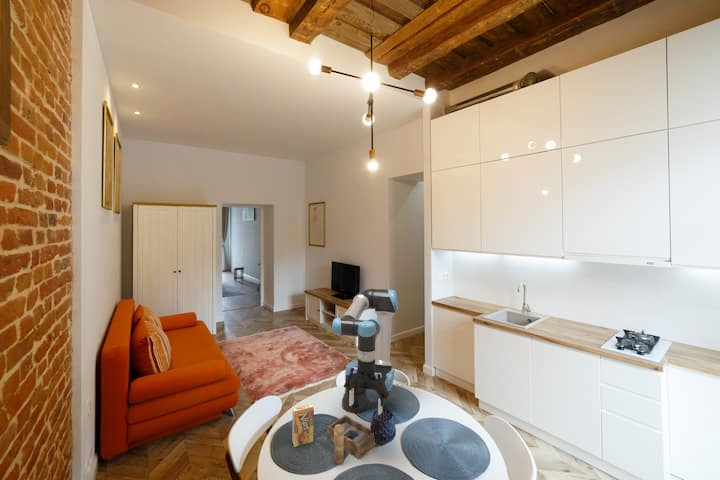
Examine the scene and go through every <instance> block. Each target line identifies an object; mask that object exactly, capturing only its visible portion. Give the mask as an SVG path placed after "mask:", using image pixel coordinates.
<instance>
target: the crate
mask: <svg viewBox="0 0 720 480" xmlns="http://www.w3.org/2000/svg"><path fill="white" fill-rule="evenodd" d="M338 424H341V425H343V426H344V452H346V453H348V454H349V455H351V456H353V457H354V458H356V459H357V460H359V459H361V458H362V457H363V456H364V455H365V454H366V453H368V452H369V451H370V450H372V448H373V447H374V446H376V445H377V442H376V443H375V439H374V433H372V432H371V430H372V429H371V428H369V427H367V426H366V425H364V424H362V423H360V422H359V421H356V420H355V419H354V418H351V417H350V416H348V415H343V416H342V417H340V418H339V419H336V420H335V421H334V422H333V423H331V424H330V425H327V428H326V429H327V431H326V432H327V434H326V435H327V437H326V438H327V440H328V441H330V442H331V443H333V444H334V427H335V426H336V425H338ZM350 437H352V438H353V439H351V438H350Z"/></svg>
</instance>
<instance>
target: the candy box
mask: <svg viewBox="0 0 720 480" xmlns="http://www.w3.org/2000/svg"><path fill="white" fill-rule="evenodd" d="M314 412H315V409H314V407H313V405H312V404H308V405H304V406H303V405H302V406H299V407H295V408H292V423H291V424H292V426H291V427H292V433H291V434H292V435H291V437H292V438H291V441H292V444H293V447H294V448H296V447H299V446H303V445H306V444H310V443H314V424H315V423H314V419H315V418H314V415H315V413H314Z"/></svg>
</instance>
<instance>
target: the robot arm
mask: <svg viewBox="0 0 720 480" xmlns="http://www.w3.org/2000/svg"><path fill="white" fill-rule="evenodd" d="M367 309H368V310H369V309H371V310H374V313H375V314H376V319H375V318H369V319H368V320H367V319H366V320H365V319H360V318H361V317H362V314H363V313H364V311H366V310H367ZM398 310H399V301H398V294H397V292H396V290H394V289H387V288H386V289H379V288H368V289H367V288H366V289H363V290H361V291H360V292H358V293H357V294H356V295H354V297H353V299H352V303H351V304H350V306H349V307H348V309H347V310H346V311H345V313H344V314H343V316H342V317H335V318H334V319H333V320H332V325H331V331H332V333H333V334H334V335H339V336H345V337H346V336H348V337H357V360H353V361H350V362H349V363H347V364H346V366H345V372H344V374H345V378H344V379H345V380H344V382H345V383H344V384H343V387H344V388H345V389H344V394H343V397H342V400H341V407H342V409H343V410H344V411H345V412H349V413H351V414H357V413H362V412H366V411H367V410H368V409H369V407H370V400H369V396H368V391H367V390H372V391H375V392H376V393H377V395H378V396H379V397H378V399H377V400H378V401H377V402H378V403H377V404H378V406H377V414H378V416H380V415H381V414H382V413H383V407H384V406H385V401H386V400H387V399H388V397H389V396H390V393H389V392H390V391H391V390H392V388H393V384H394V379H395V372H396V371H395V368H393V364H392V363H391V360H390V357H391V345H392V344H391V342H392V341H391V340H392V326H393V325H392V323H393V316H394V315H396V312H397V311H398Z"/></svg>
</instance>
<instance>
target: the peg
mask: <svg viewBox="0 0 720 480" xmlns="http://www.w3.org/2000/svg"><path fill="white" fill-rule="evenodd" d="M344 452H345V450H344V426H343V425H341V424H338V425H336V426H335V427H334V443H333V462H334V464H335V465H342V464H344V462H345V461H344V460H345V459H344V456H345V455H344V454H345V453H344Z"/></svg>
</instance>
